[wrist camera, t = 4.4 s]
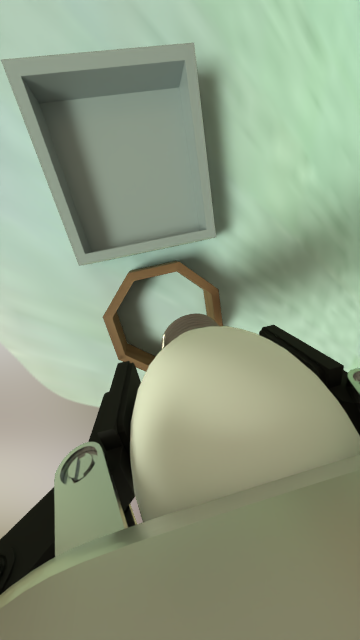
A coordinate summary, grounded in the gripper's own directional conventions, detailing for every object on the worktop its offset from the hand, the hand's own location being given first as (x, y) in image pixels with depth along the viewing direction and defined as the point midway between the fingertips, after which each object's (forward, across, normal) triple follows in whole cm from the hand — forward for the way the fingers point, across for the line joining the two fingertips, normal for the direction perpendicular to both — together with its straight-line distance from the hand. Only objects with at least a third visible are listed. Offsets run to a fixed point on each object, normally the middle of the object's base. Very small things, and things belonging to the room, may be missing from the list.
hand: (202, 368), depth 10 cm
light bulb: (+4, 0, 0) cm, 4 cm away
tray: (+10, +1, -12) cm, 16 cm away
